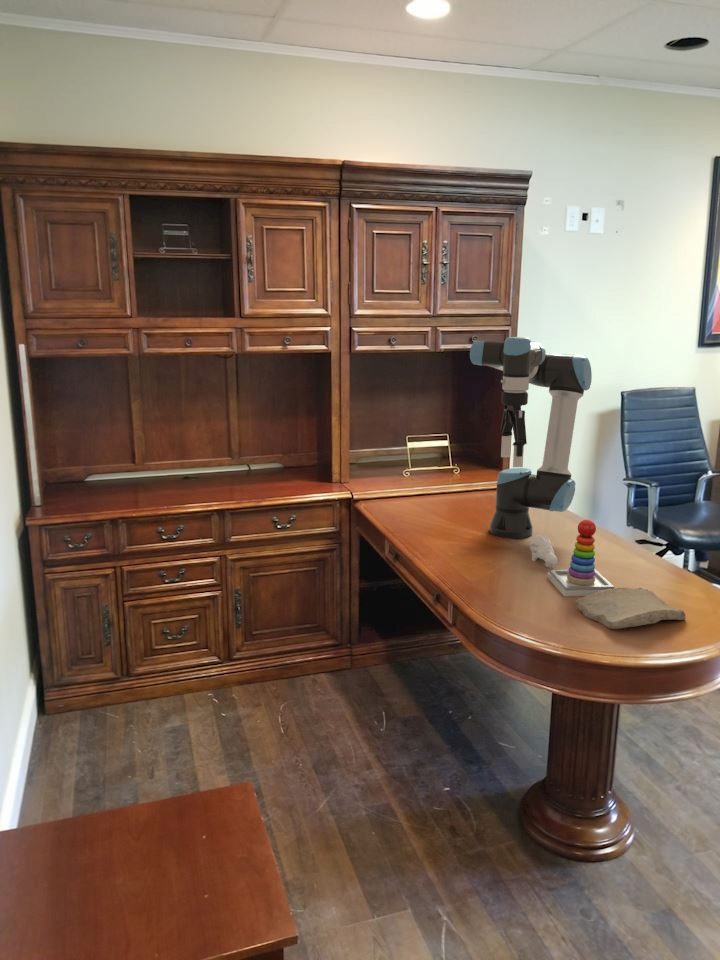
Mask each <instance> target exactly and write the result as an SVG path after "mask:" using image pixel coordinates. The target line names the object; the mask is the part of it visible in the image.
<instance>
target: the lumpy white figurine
mask: <svg viewBox="0 0 720 960" xmlns="http://www.w3.org/2000/svg"><path fill="white" fill-rule="evenodd" d="M529 549H530V551H531V556H532V557H531V561H532V562H535V561H536V560H537V559H540V560H542V561H544V563H543V565H544V568H545V567H547V568H550V569H553V568H554V567H555V566H556V565H557V564H558V558H557V556H556V555H555V550H554V549H553V545H552V543H551V540H550V538H548V536H546V535H545V534H542V533H539V534H536V535H534V536H532V538H531V541H530V542H529Z"/></svg>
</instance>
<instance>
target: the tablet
mask: <svg viewBox="0 0 720 960" xmlns="http://www.w3.org/2000/svg"><path fill="white" fill-rule="evenodd" d="M575 605H576V607H577V609H578V610H579V611H580V613H582V614H583V615H584V616H585V617H586V618H588V619H590V620H593V621H596V622H598V623H600V624H602V625H603V626H604V627H607V628H608V629H610V630H612V629H613V630H619V629H626V628H633V627H634V628H635V627H639V626H645V625H651V624H656V623H658V622H660V621H666V620H667V621H672V620H675V621H686V619H687V617H686V613H685V611H684V610H683V609H677V608H676V607H674V606H672V605H670V604H668V603H665V601H664V600H663V599H662V598H660V597H658V596H657V595H656V593H654V591H653V590H648V589H646V588H642V587H637V588H630V587H628V586H627V587H626V586H625V587H617V588H616V587H614V589H606V590H601V591H598V592H596V593H594V594H591V595H588V596H581V597H579V598H578V599H576V600H575Z"/></svg>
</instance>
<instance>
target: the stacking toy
mask: <svg viewBox="0 0 720 960" xmlns="http://www.w3.org/2000/svg"><path fill="white" fill-rule="evenodd" d="M596 531H597V525H596V523H595V522H594V521H593V520H590V519H584V520H581V521H580V522H579V523H578V524H577V532H578V535H577V536H576V542H575V544H574V547H575V548H574V549H573V554H572V555H571V557H570V559H571V561H570V562H569V567H568V569H567V570H568V571H569V573H568V574H567V579H568V580H569V581H570V582H572V583H574V584H578V585H590V584H593V583H594V582H595V577H594V575H595V570H594V569H595V567H596V564H595V555H596V552H595V549H596V546H595V545H596V544H594V543H595V538H594V535H595V534H596Z"/></svg>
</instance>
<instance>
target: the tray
mask: <svg viewBox="0 0 720 960" xmlns="http://www.w3.org/2000/svg"><path fill="white" fill-rule="evenodd" d="M568 570H569V569H552V570H551V569H550V570H549V572H547V578H548V580H549V581H550V582H551V583H552V585H554V586H555V588H556V589H557V590H558V591H559V592H560V594H562V596H563V597H585V596H588V595H591V594H594V593H596V592H598V591H601V590H606V589H615V586H614V585H613V584H612V583H611V582H610V581H609V580H608V579H607V578H606V577H605V576H603V575H602V573H600V572H599V571H598V570H597V569H594V570H595V575H594V577H595V582H594V583H593V584H590V585H578V584H574V583H572V582H570V581H569V580H568V579H567V574H568V573H569V571H568Z"/></svg>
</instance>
